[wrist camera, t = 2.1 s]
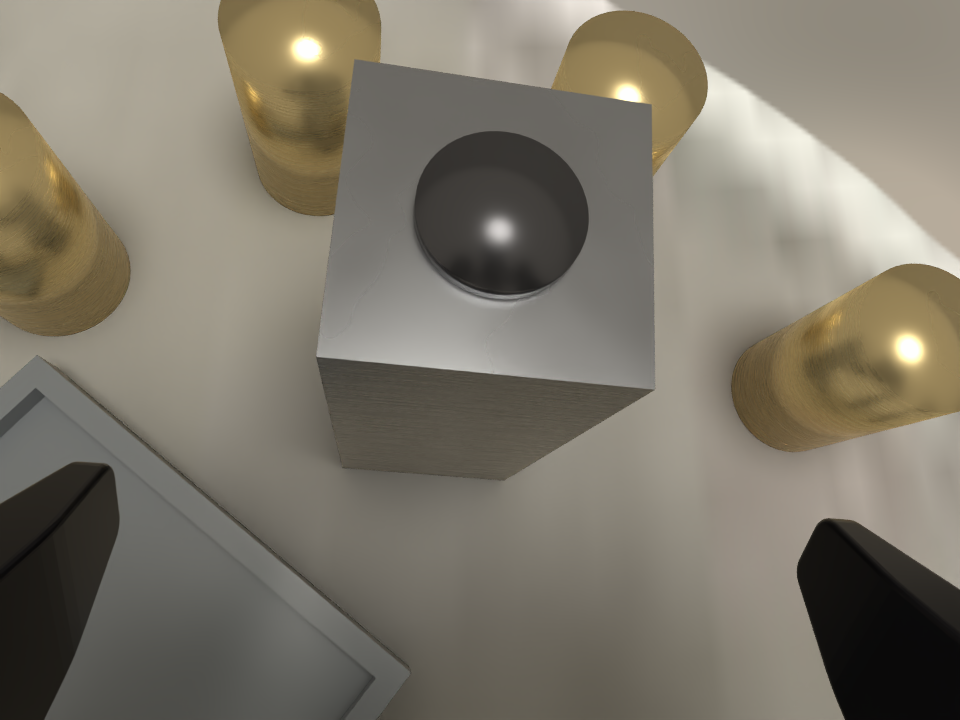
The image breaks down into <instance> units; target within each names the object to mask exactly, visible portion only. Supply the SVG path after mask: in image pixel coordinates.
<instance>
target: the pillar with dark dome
mask: <svg viewBox="0 0 960 720" xmlns="http://www.w3.org/2000/svg"><path fill="white" fill-rule="evenodd" d="M316 358H317V363H318V367H319V371H320V375H321V379H322V384H323V388H324V392H325V396H326V400H327V404H328V409H329V413H330V417H331V421H332V425H333V430H334V434H335V438H336V442H337V446H338V451H339V455H340V459H341V463H342V467H343V468H351V469H364V470H377V471H390V472H403V473H416V474H429V475H441V476H454V477H467V478H480V479H493V480H506V479H507V478H509V477H511V476H512V475H514V474H516V473H517V472H519V471H521V470H522V469H524V468H526V467H527V466H529V465H531V464H532V463H534V462H536V461H537V460H539V459H541V458H542V457H544V456H546V455H547V454H549V453H551V452H552V451H554V450H556V449H557V448H559V447H561V446H562V445H564V444H566V443H567V442H569V441H571V440H572V439H574V438H576V437H577V436H579V435H581V434H582V433H584V432H586V431H587V430H589V429H591V428H592V427H594V426H596V425H597V424H599V423H601V422H602V421H604V420H606V419H607V418H609V417H610V416H612V415H614V414H615V413H617V412H619V411H620V410H622V409H624V408H625V407H627V406H629V405H630V404H632V403H634V402H635V401H637V400H639V399H640V398H642V397H644V396H645V395H647V394H649V393H650V392H652V391H654V390H655V338H654V254H653V170H652V104H647V103H640V102H633V101H627V100H620V99H614V98H607V97H600V96H594V95H587V94H581V93H574V92H568V91H561V90H554V89H548V88H541V87H535V86H528V85H521V84H515V83H508V82H502V81H495V80H489V79H482V78H475V77H469V76H462V75H456V74H449V73H443V72H436V71H429V70H423V69H416V68H410V67H403V66H396V65H390V64H383V63H377V62H370V61H364V60H357V59H354V66H353V74H352V82H351V90H350V97H349V105H348V113H347V121H346V128H345V136H344V144H343V152H342V159H341V167H340V175H339V183H338V190H337V198H336V206H335V214H334V221H333V229H332V237H331V245H330V252H329V260H328V268H327V276H326V284H325V291H324V299H323V307H322V315H321V322H320V330H319V338H318V346H317V353H316Z"/></svg>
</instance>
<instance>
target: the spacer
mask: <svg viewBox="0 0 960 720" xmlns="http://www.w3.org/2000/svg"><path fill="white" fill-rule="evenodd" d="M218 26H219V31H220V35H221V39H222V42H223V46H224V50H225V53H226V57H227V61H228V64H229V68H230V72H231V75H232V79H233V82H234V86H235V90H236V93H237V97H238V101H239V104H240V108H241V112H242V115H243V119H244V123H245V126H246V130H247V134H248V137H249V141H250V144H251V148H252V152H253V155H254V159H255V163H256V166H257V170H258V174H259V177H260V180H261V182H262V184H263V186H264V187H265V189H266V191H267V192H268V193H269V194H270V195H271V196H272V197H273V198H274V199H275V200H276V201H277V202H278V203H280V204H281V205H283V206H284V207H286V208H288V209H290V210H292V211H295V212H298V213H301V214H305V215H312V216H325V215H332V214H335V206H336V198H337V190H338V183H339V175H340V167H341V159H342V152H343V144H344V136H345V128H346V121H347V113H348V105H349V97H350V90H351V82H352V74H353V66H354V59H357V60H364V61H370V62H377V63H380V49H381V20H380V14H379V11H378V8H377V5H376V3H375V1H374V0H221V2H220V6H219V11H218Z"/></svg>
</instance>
